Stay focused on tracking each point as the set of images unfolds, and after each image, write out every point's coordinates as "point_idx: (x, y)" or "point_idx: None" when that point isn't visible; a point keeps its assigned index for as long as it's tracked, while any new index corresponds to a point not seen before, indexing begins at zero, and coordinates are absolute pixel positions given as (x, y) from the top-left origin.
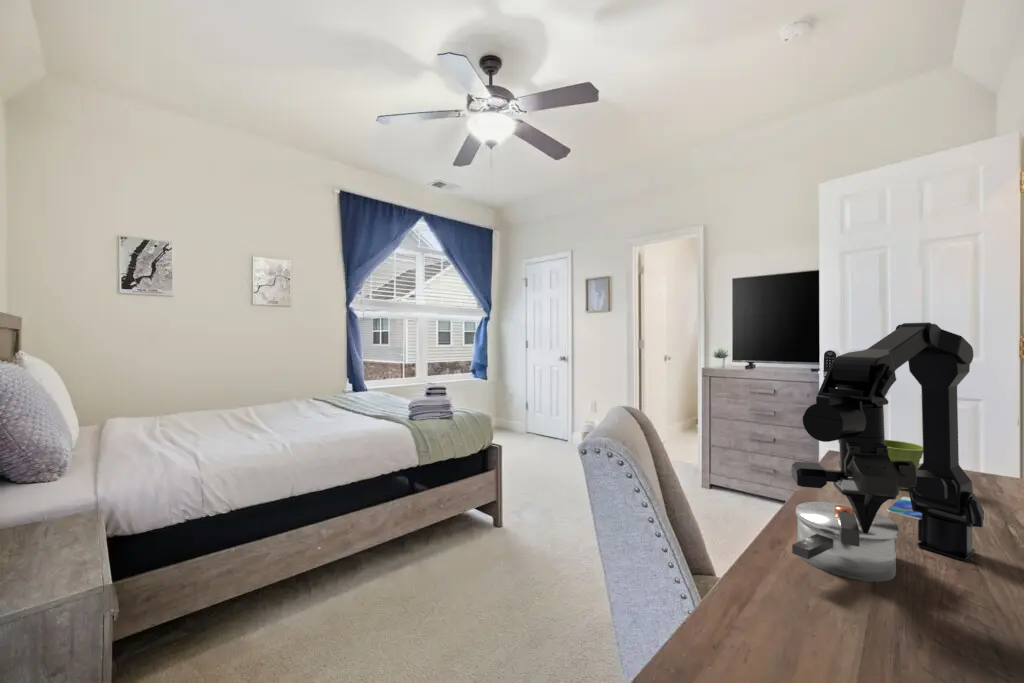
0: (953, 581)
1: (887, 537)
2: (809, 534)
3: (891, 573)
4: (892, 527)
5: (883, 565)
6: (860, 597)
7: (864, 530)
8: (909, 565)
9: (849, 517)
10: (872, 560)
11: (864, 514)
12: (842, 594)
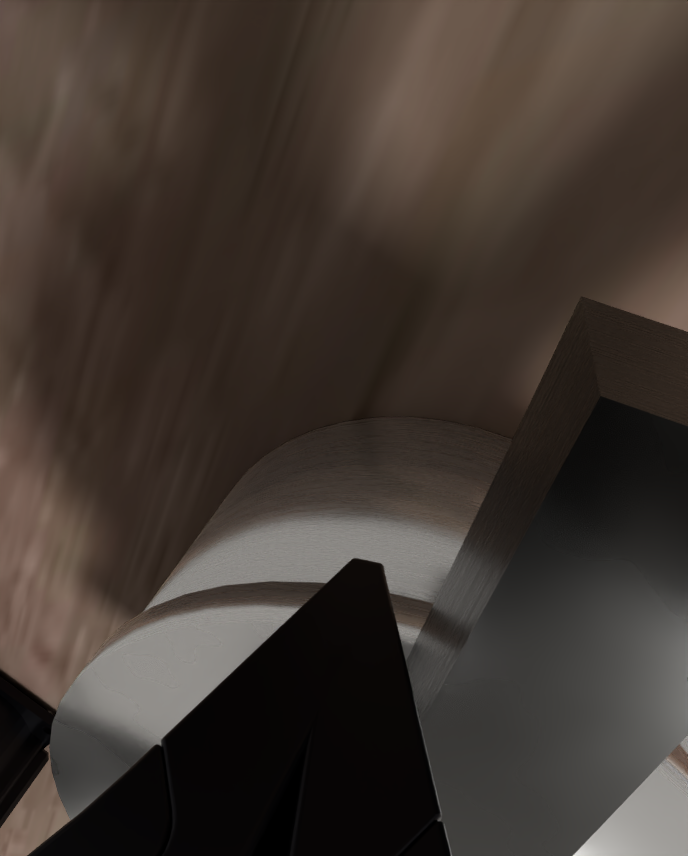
0: (11, 489)
1: (161, 616)
2: None
3: (245, 479)
4: (85, 736)
5: (274, 484)
6: (542, 195)
7: (379, 585)
8: (136, 595)
9: (451, 820)
10: (333, 491)
11: (329, 789)
12: (660, 202)
